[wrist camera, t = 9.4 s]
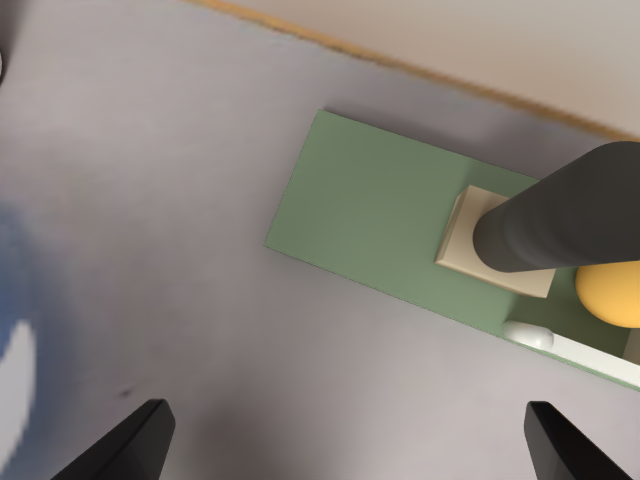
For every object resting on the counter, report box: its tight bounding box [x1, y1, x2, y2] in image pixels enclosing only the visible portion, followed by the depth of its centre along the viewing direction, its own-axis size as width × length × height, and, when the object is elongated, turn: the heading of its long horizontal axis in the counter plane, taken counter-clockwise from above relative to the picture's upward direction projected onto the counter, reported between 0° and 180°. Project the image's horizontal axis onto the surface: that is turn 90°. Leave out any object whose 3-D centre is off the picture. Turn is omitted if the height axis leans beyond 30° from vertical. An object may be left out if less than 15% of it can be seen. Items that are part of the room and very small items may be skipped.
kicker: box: [433, 141, 640, 298], centre depth 15 cm, size 4×5×11 cm
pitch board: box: [264, 109, 640, 392], centre depth 21 cm, size 9×22×1 cm, turn 68°
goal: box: [502, 320, 640, 387], centre depth 18 cm, size 9×7×4 cm
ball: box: [575, 261, 640, 328], centre depth 18 cm, size 4×4×4 cm
